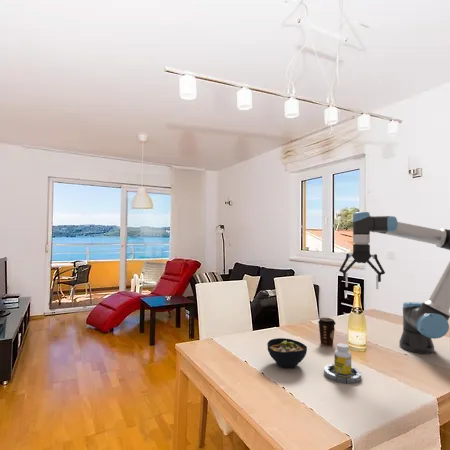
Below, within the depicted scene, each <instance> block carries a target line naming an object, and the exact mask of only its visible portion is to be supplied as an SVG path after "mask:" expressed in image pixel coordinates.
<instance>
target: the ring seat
mask: <svg viewBox="0 0 450 450" xmlns="http://www.w3.org/2000/svg"><path fill="white" fill-rule="evenodd" d="M323 375H324V376H325V377H326V378H327V379H328V380H330V381H333V382H336V383H338V384H339V383H340V384H345V385H346V384H347V385H352V384H358V383H360V382H361V381H362V371H361V370H360V369H358V368H357V367H354V366H352V365H351V376H349V377H343V376H338V375H337V374H335V371H334V363H330V364H327V365H325V366H324V368H323Z"/></svg>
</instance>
